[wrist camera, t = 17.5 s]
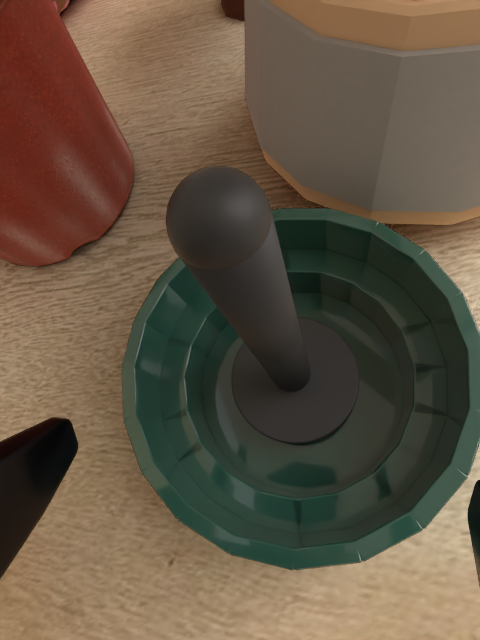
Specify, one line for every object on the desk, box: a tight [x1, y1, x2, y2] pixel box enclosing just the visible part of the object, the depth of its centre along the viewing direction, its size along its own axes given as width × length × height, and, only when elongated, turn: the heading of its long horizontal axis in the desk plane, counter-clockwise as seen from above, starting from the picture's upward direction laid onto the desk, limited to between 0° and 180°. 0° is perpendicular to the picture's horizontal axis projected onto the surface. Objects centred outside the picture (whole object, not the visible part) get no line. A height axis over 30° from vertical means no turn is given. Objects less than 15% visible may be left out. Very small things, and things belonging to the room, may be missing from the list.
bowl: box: [122, 208, 480, 570], centre depth 16 cm, size 13×13×6 cm
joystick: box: [166, 166, 360, 445], centre depth 12 cm, size 6×6×15 cm
